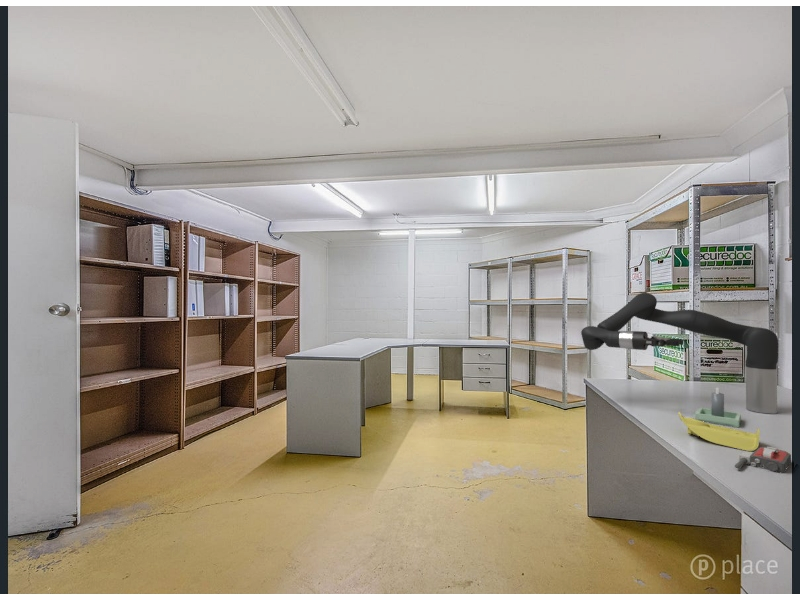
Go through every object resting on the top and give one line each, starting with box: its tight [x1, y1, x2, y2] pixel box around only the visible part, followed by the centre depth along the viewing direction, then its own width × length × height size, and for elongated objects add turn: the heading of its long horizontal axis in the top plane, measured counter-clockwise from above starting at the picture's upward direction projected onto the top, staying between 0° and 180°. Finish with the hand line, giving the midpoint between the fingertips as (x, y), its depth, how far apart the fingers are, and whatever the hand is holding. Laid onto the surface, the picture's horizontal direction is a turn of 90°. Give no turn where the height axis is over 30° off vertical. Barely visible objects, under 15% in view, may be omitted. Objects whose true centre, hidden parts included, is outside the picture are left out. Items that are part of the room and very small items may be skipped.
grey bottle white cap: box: [710, 387, 725, 417], centre depth 143 cm, size 4×4×11 cm
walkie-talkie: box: [734, 446, 792, 474], centre depth 102 cm, size 9×4×20 cm
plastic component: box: [677, 411, 761, 452], centre depth 122 cm, size 20×7×10 cm
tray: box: [694, 407, 742, 429], centre depth 143 cm, size 12×12×3 cm
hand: (681, 342), depth 151 cm, fingers open, 8 cm apart
